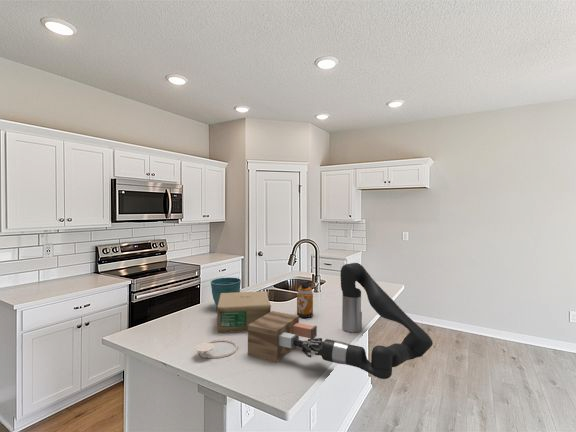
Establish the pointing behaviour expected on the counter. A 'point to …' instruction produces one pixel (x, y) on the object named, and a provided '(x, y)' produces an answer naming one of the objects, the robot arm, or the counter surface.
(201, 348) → the hand towel holder
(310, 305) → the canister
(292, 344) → the grey plug
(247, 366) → the counter surface
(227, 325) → the paper package
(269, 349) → the socket block
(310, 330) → the brick plug
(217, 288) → the flower pot
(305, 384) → the counter surface
